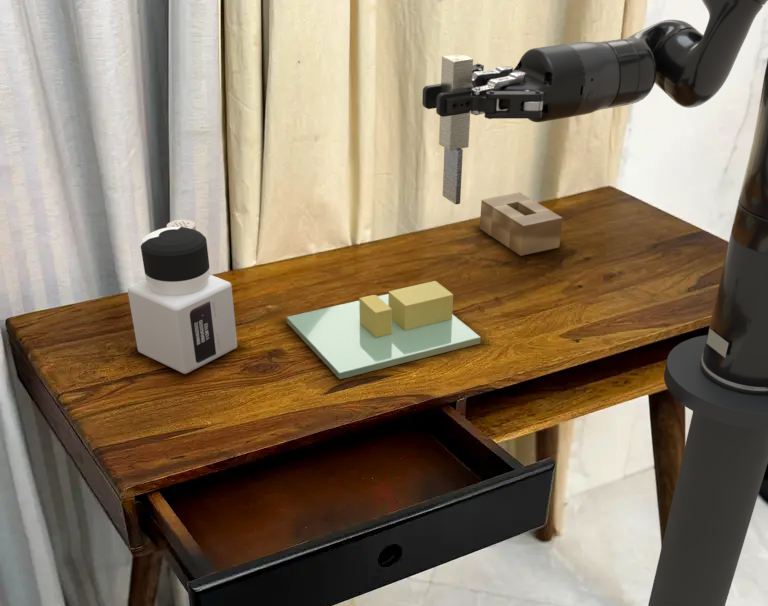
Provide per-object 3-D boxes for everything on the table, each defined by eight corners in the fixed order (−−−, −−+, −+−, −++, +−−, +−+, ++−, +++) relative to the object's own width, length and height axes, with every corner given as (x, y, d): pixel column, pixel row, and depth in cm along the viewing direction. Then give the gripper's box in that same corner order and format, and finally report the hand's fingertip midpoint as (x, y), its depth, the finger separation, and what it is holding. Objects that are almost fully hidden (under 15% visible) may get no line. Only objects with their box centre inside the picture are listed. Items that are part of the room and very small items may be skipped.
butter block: (388, 315, 111) (388, 291, 109) (434, 304, 113) (435, 280, 111) (404, 330, 108) (405, 305, 106) (452, 319, 110) (453, 294, 108)
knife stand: (479, 228, 132) (481, 199, 130) (516, 220, 135) (519, 192, 132) (520, 256, 125) (523, 225, 123) (559, 247, 128) (563, 217, 125)
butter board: (286, 323, 111) (286, 316, 110) (418, 292, 117) (419, 286, 117) (339, 379, 101) (339, 373, 101) (480, 343, 107) (481, 336, 107)
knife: (435, 197, 112) (440, 55, 102) (453, 193, 112) (460, 52, 103) (448, 206, 109) (454, 62, 100) (467, 202, 110) (475, 59, 101)
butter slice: (359, 322, 109) (359, 297, 108) (375, 318, 110) (375, 294, 108) (375, 337, 107) (375, 312, 105) (392, 333, 107) (392, 308, 105)
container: (239, 348, 106) (227, 232, 98) (185, 376, 102) (168, 257, 94) (191, 326, 110) (176, 213, 102) (136, 352, 105) (116, 236, 97)
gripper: (535, 31, 112) (400, 48, 106) (610, 59, 102) (467, 80, 96) (529, 100, 116) (399, 120, 110) (600, 133, 107) (463, 157, 101)
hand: (431, 101), depth 103 cm, fingers closed on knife, 2 cm apart
